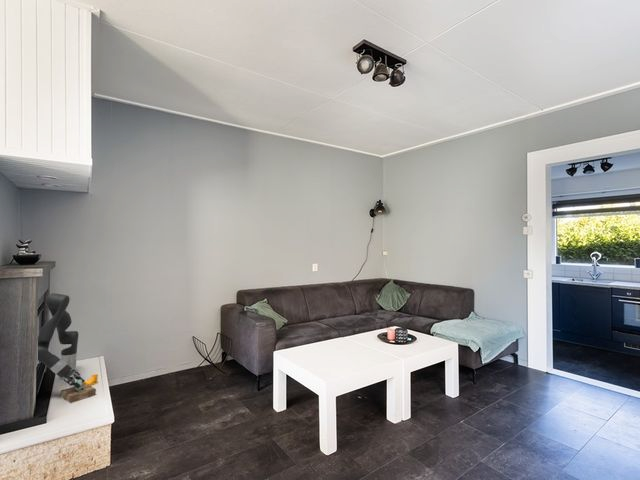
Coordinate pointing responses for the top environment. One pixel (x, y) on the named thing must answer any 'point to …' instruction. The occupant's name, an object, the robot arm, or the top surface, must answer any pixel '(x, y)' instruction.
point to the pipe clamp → (91, 380)
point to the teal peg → (80, 384)
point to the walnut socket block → (78, 393)
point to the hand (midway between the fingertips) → (81, 384)
